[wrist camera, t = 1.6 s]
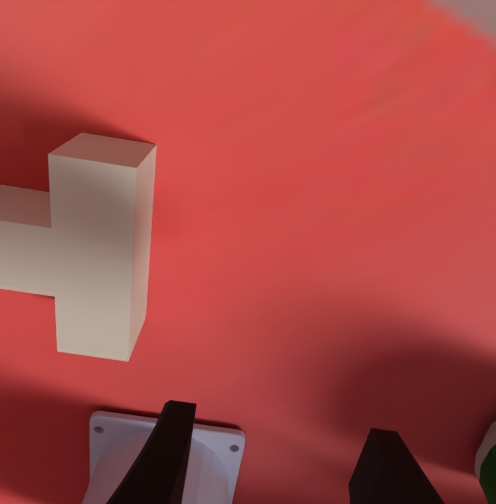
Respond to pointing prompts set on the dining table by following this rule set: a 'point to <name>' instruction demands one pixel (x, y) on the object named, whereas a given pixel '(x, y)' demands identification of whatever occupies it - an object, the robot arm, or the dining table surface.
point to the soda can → (487, 464)
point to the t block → (85, 242)
